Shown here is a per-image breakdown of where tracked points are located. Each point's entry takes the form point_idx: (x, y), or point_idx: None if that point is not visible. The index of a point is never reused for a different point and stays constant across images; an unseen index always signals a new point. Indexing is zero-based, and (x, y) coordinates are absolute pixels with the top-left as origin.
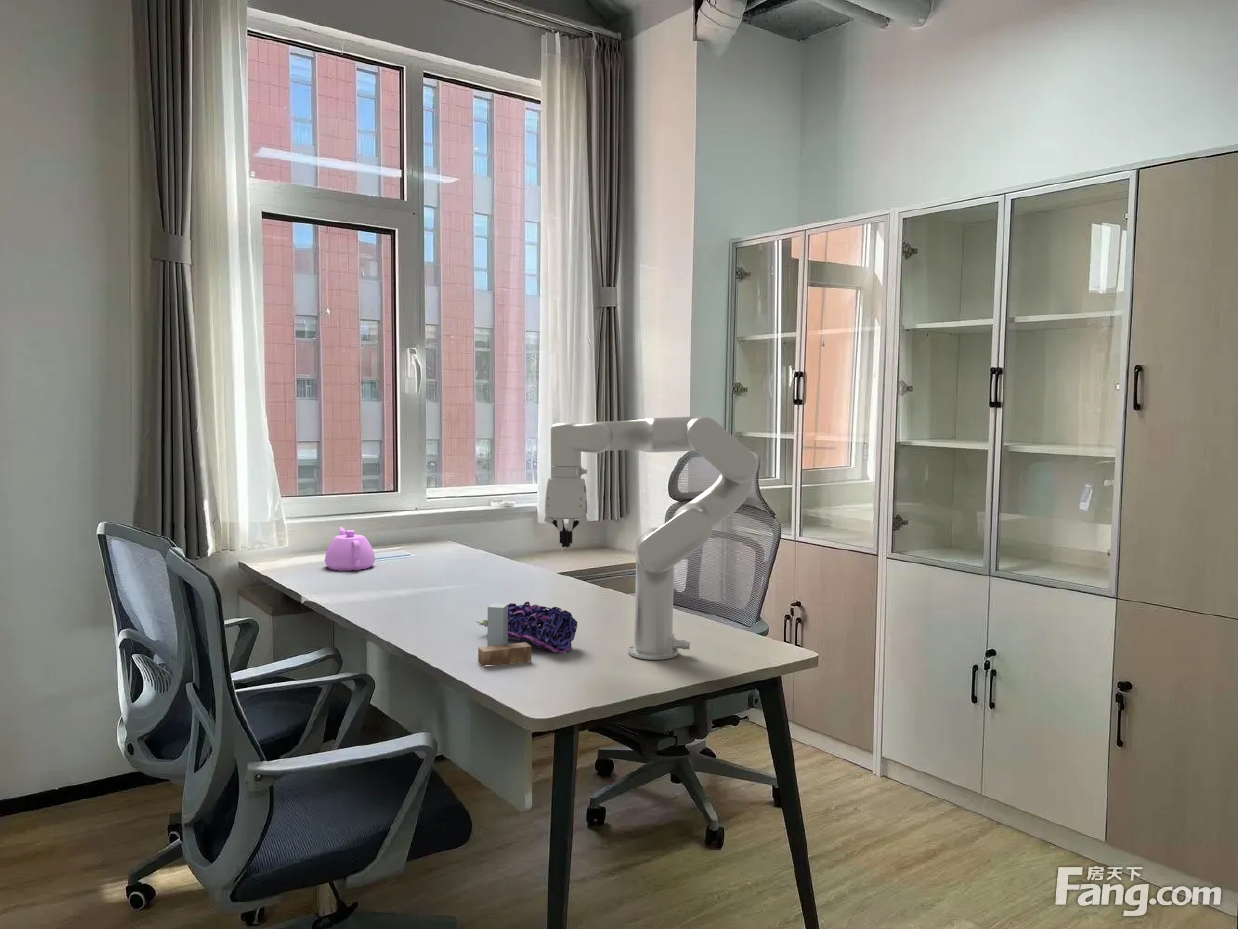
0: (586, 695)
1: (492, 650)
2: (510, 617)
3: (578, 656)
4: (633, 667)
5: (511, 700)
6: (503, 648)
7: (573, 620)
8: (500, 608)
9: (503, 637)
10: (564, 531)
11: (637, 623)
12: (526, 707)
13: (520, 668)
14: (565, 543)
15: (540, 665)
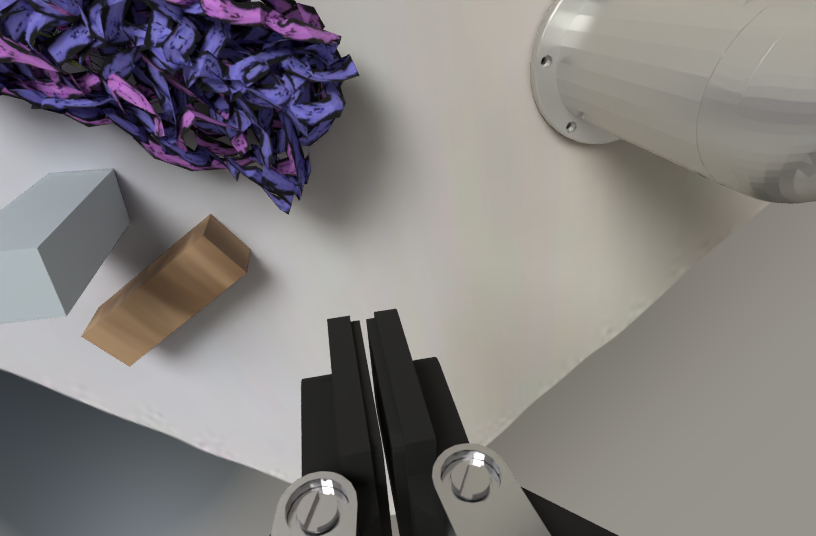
0: None
1: (148, 348)
2: (2, 84)
3: (376, 156)
4: (545, 215)
5: None
6: (170, 320)
7: (341, 76)
8: (52, 315)
9: (109, 246)
10: (381, 528)
11: (616, 125)
12: None
13: (249, 313)
14: (381, 432)
15: (293, 274)
